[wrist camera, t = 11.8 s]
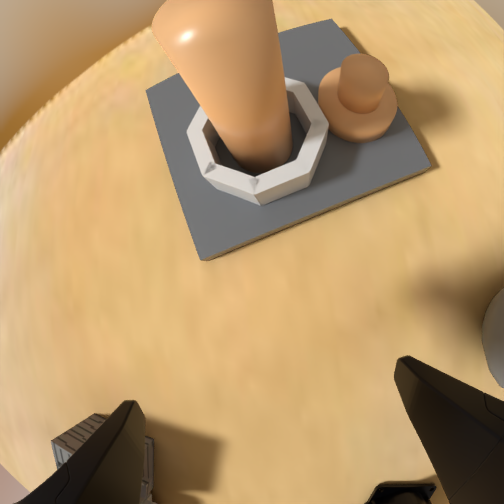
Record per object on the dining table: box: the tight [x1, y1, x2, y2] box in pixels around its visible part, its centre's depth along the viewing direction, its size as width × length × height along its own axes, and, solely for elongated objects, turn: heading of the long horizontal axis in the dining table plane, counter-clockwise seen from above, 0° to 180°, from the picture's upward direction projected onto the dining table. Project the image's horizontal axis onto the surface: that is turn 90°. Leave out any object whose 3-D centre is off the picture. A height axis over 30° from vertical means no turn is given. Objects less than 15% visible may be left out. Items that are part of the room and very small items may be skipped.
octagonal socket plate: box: [146, 19, 431, 261], centre depth 19 cm, size 16×18×6 cm
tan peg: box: [152, 0, 293, 173], centre depth 14 cm, size 4×4×13 cm
